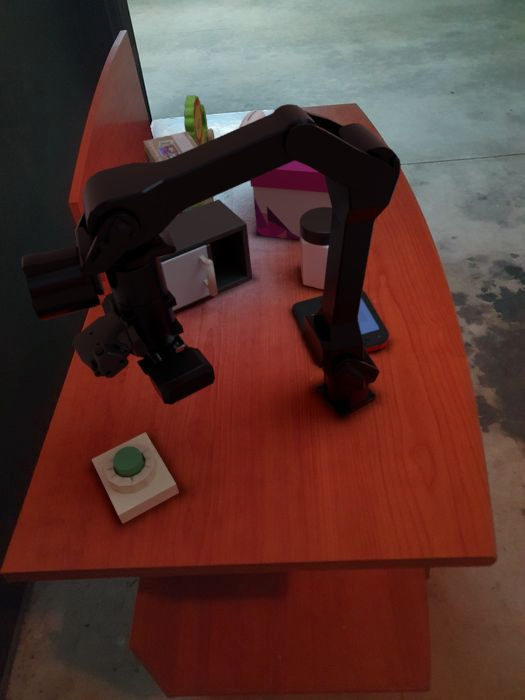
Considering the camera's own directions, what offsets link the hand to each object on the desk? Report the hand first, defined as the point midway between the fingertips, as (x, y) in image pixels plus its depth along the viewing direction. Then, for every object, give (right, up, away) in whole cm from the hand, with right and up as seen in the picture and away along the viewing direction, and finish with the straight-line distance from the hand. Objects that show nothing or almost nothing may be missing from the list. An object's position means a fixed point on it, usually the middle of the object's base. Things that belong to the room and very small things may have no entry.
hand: (169, 385), depth 72 cm
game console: (+25, +8, +23) cm, 35 cm away
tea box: (-5, +34, +51) cm, 62 cm away
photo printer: (+10, +48, +64) cm, 81 cm away
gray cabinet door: (+1, +12, +27) cm, 30 cm away
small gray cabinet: (0, +17, +34) cm, 38 cm away
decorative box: (+22, +33, +48) cm, 62 cm away
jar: (+23, +18, +33) cm, 44 cm away
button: (-5, -11, +2) cm, 12 cm away
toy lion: (-3, +53, +70) cm, 88 cm away
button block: (-5, -13, +5) cm, 15 cm away
